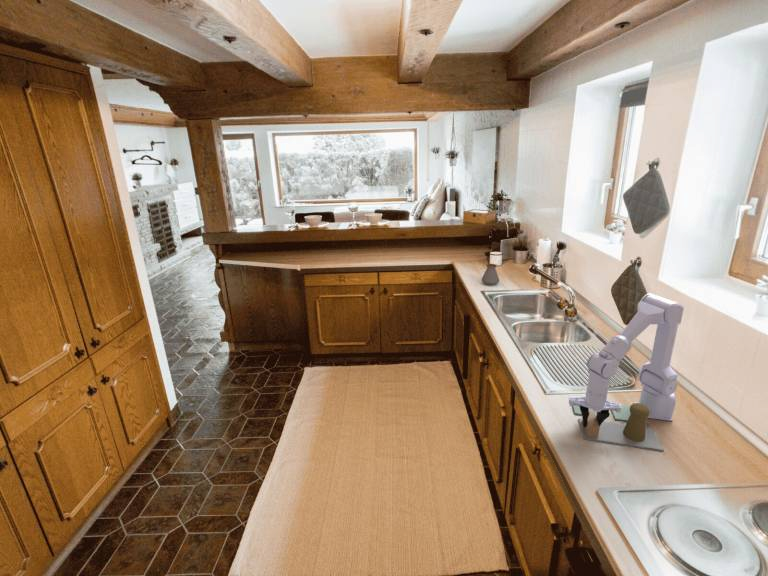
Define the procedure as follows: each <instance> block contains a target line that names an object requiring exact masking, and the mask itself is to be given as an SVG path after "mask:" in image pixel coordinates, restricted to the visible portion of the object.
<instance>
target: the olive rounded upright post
mask: <svg viewBox="0 0 768 576" xmlns="http://www.w3.org/2000/svg"><path fill="white" fill-rule="evenodd" d="M630 413H631V414H630V416H629V419H628V421H627V422H625V424H626V426H625V428H624V430H623V434H624V435H625V436H626V437H627V438H628V439H630V440H633V441H637V442H641V441H644V440H645V431H646V426H647V424H646V421H647V419H648V418H647V417H648V416H649V414H650V411H649V408H648V407H647V406H645V405H644V404H641V403H639V402H638V403H634V402H633V403H632V404H631V406H630Z"/></svg>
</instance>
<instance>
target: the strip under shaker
mask: <svg viewBox="0 0 768 576" xmlns="http://www.w3.org/2000/svg"><path fill="white" fill-rule="evenodd" d="M578 422H579V425H580V429H581V433H582V436H583V440H585V441H586V440H587V441H591V442H597V443H598V442H599V443H605V444H612V445H618V446H625V447H632V448H638V449H645V450H651V451H658V452H664V451H665V449H664V447H663V445H662V443H661V441H660V440H659V437H658V435H657V433H656V432H655V430H654V428H653V427H646V431H645V440H644V441H641V442H637V441H633V440H630V439H628V438H627V437H626V436H625V435H624V434H623V430H624V428H625V426H626V423H624V424H623V423H617V422H611V421H609V422H608V421H605V420H604V421H603V422H602V424H601V425H600V427H599V424H598V421H597V418H596V415H595V412H593V411H589V416H588V419H587V426H586V427H583V418H582V417H578Z"/></svg>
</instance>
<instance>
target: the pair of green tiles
mask: <svg viewBox="0 0 768 576" xmlns="http://www.w3.org/2000/svg"><path fill="white" fill-rule="evenodd" d="M619 404H620V406H621V411H620V413H619V412H616V411H613V410H610V411H611V413H612V416H613V418H614V421H618V422H619V421H620V422H625V423H627V421H628V419H629V416H630V414H631V413H630V406H631V405H632V404H631V405H629V404H622V403H619ZM588 409H589V410H588V411H593V409H590V408H588ZM572 410H573V412H574V413H573V414H574V415H576V416H582V413H581V410H580V407H579V406H575V405H573V406H572ZM593 412H595V411H593ZM595 415H596V416H597V412H595ZM646 425H648V422H647V420H646Z"/></svg>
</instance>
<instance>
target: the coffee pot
mask: <svg viewBox="0 0 768 576" xmlns="http://www.w3.org/2000/svg"><path fill="white" fill-rule="evenodd" d="M489 258H490V257H489V256H488V255H486V256H485V259H486V262H487V264H486V270H485V272H484V273H483V276H482V277H481V282H482V283H483V284H484V285H486V286H492V287H493V286H496V285H497V284H499V283H500V277H499V275H498V272H497V269H496V268H497V266H498V264H495V263H490V259H489Z"/></svg>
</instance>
